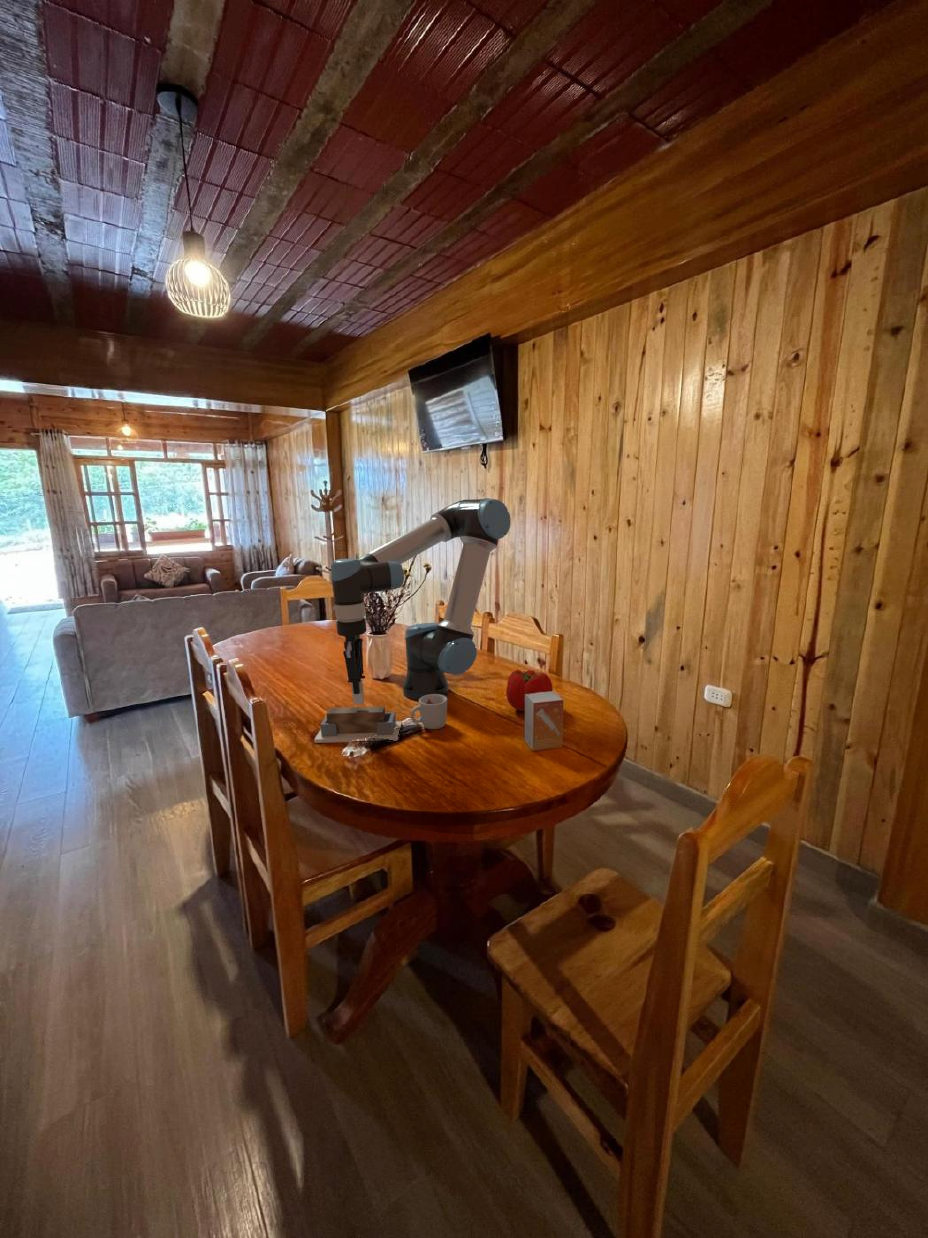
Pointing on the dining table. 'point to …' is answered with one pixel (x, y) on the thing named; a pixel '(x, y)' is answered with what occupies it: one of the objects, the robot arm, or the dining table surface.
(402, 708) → the dining table surface
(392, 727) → the board
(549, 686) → the tomato
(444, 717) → the cup
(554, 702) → the small box
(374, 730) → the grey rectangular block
